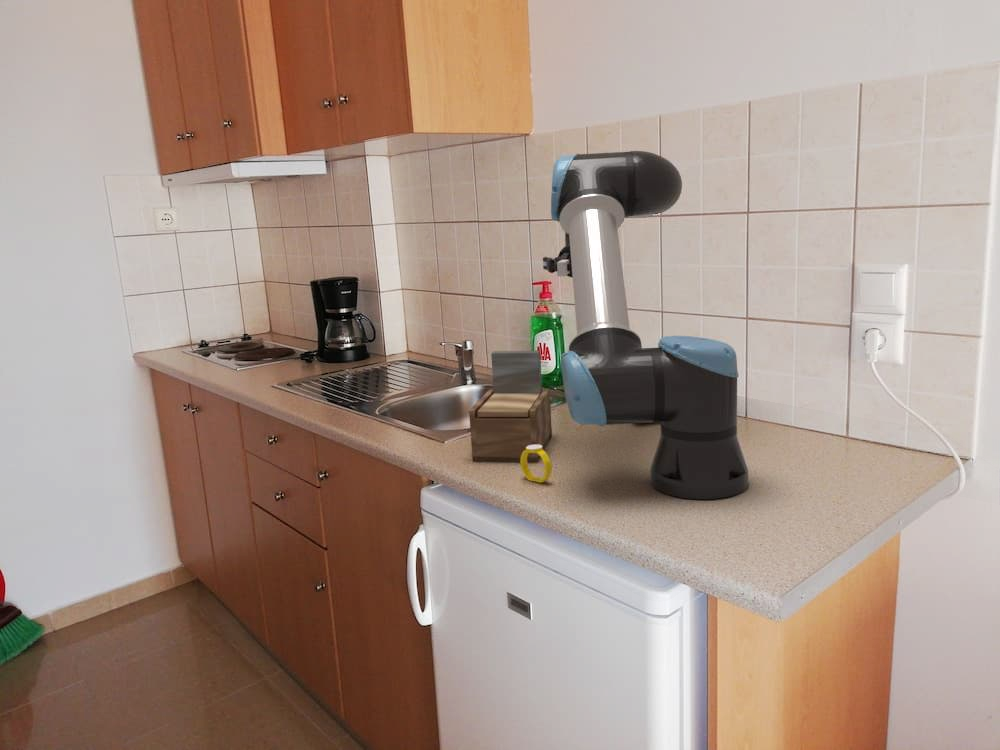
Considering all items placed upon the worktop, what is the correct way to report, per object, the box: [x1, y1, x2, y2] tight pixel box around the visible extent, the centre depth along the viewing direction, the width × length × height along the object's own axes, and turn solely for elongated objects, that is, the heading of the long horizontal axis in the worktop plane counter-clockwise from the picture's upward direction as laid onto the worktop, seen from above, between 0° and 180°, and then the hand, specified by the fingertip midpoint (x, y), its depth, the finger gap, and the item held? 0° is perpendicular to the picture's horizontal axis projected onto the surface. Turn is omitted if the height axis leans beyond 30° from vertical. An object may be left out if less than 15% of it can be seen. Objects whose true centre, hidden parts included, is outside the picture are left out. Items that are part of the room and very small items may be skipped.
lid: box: [477, 350, 543, 417], centre depth 146 cm, size 15×9×9 cm, turn 167°
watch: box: [519, 444, 553, 484], centre depth 131 cm, size 6×3×6 cm, turn 44°
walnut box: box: [468, 388, 553, 464], centre depth 148 cm, size 16×12×10 cm
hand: (561, 269), depth 154 cm, fingers closed
